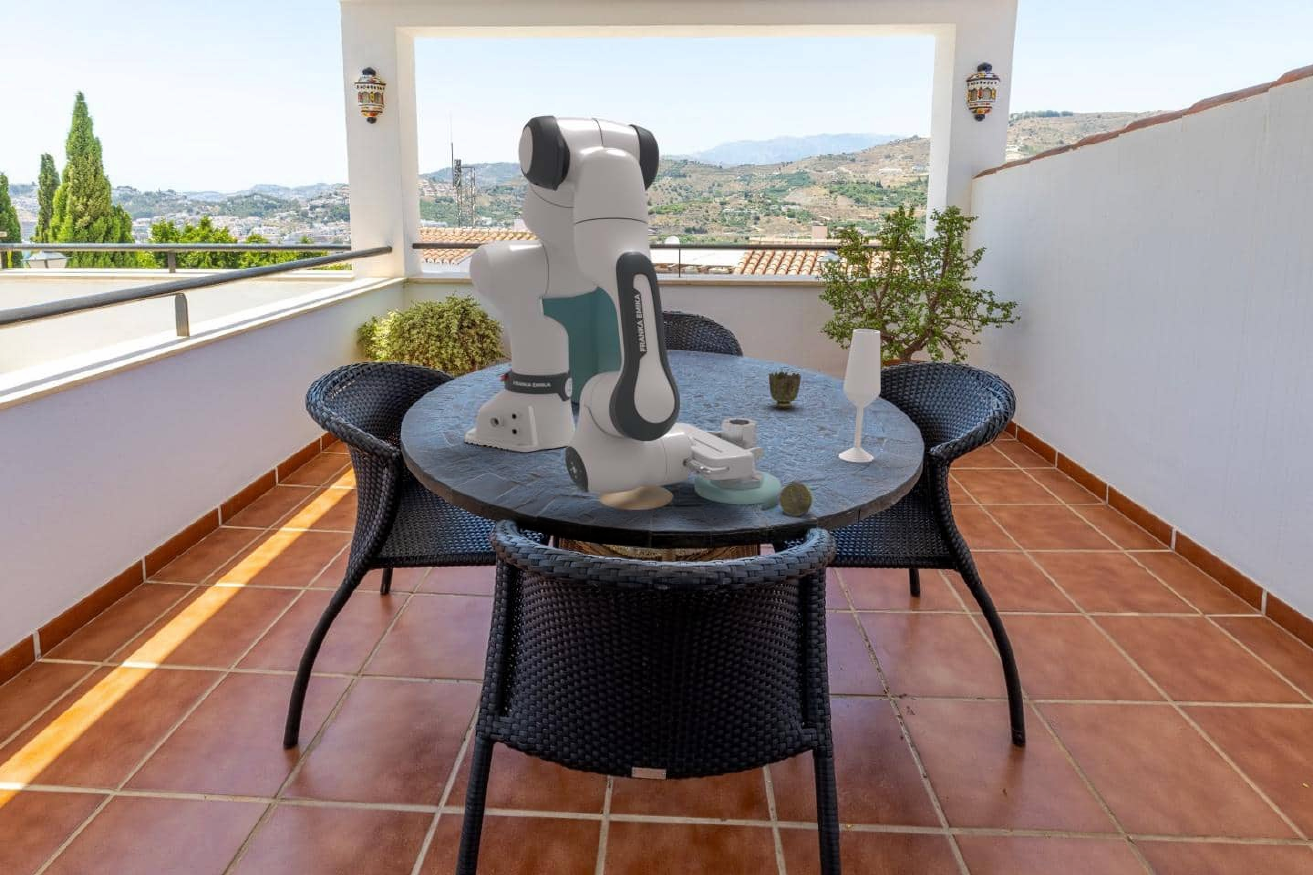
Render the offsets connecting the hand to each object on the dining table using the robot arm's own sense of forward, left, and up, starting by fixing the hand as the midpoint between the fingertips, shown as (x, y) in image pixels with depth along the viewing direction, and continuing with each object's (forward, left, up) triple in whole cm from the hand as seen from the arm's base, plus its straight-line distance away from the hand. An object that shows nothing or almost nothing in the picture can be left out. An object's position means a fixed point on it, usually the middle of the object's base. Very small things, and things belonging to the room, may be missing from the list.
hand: (743, 443), depth 134 cm
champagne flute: (+17, +27, -9) cm, 34 cm away
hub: (-1, -1, -9) cm, 9 cm away
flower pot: (-44, +55, -9) cm, 71 cm away
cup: (-1, +62, -9) cm, 63 cm away
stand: (-16, -9, -9) cm, 20 cm away
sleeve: (-1, -1, -6) cm, 6 cm away
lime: (+9, -6, -9) cm, 14 cm away
